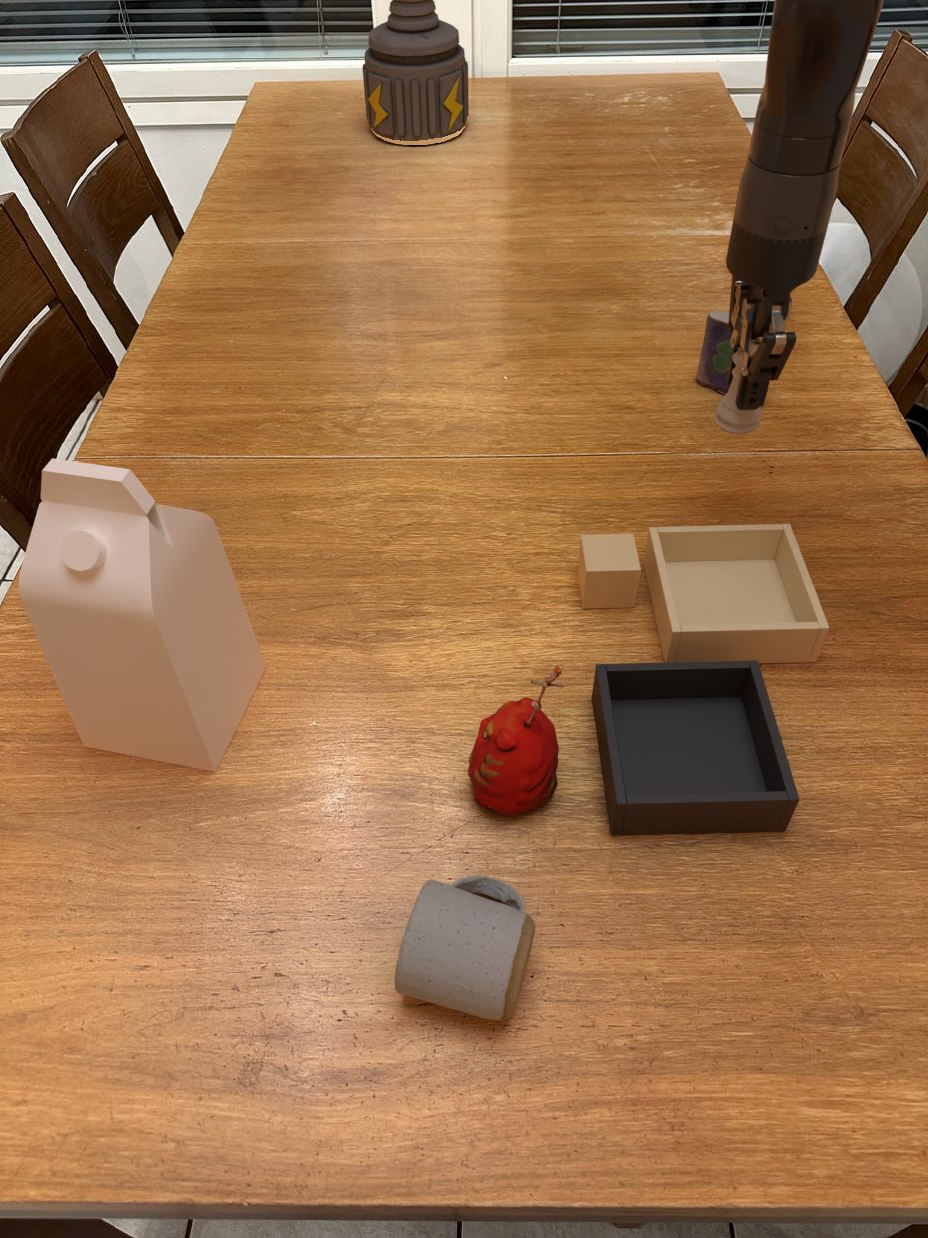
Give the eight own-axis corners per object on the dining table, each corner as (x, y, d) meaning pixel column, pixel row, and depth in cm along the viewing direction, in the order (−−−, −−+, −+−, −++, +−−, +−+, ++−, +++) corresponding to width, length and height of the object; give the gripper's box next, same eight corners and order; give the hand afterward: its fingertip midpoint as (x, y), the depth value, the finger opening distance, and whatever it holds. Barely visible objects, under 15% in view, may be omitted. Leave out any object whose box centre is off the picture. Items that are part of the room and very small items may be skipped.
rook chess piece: (720, 405, 94) (734, 332, 88) (765, 415, 93) (782, 342, 87) (707, 429, 91) (721, 356, 85) (753, 441, 90) (770, 367, 84)
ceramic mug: (511, 1044, 63) (515, 997, 57) (395, 1010, 64) (387, 961, 59) (546, 901, 70) (552, 847, 64) (440, 874, 72) (437, 819, 66)
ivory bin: (779, 558, 94) (790, 523, 91) (816, 662, 85) (829, 628, 82) (642, 561, 94) (648, 526, 91) (665, 666, 85) (672, 631, 82)
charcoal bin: (746, 694, 83) (757, 659, 79) (785, 831, 73) (800, 799, 70) (591, 697, 83) (595, 663, 79) (610, 835, 73) (616, 804, 70)
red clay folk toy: (491, 736, 80) (492, 615, 69) (570, 762, 78) (584, 642, 67) (456, 809, 75) (451, 691, 64) (539, 838, 73) (549, 722, 62)
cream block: (627, 570, 93) (633, 533, 90) (634, 607, 90) (641, 569, 86) (577, 572, 93) (580, 534, 90) (582, 608, 90) (586, 571, 86)
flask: (691, 381, 116) (706, 300, 108) (705, 371, 117) (721, 290, 109) (756, 411, 111) (777, 328, 103) (770, 401, 113) (792, 318, 105)
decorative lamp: (491, 126, 173) (492, -74, 151) (417, 157, 163) (407, -51, 141) (418, 102, 182) (409, -91, 160) (345, 130, 172) (324, -70, 150)
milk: (266, 667, 86) (203, 430, 66) (215, 772, 78) (128, 538, 59) (144, 646, 88) (49, 410, 68) (83, 746, 80) (-42, 512, 61)
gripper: (853, 253, 72) (801, 439, 85) (805, 177, 82) (764, 354, 94) (755, 257, 72) (717, 441, 85) (718, 180, 82) (689, 356, 95)
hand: (742, 394), depth 90 cm, fingers closed on rook chess piece, 3 cm apart
